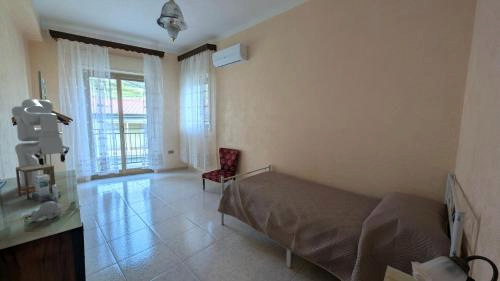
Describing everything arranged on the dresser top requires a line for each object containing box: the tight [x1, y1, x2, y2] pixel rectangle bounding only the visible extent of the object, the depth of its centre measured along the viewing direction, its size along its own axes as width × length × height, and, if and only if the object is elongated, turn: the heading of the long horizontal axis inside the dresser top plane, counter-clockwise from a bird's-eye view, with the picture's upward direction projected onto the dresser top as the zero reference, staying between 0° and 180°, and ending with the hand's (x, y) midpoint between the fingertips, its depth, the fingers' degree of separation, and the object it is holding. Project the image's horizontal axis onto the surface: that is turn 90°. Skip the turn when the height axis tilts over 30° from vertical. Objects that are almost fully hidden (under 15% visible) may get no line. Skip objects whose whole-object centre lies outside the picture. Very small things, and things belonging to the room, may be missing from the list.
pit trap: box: [16, 186, 36, 195], centre depth 147 cm, size 10×10×2 cm
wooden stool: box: [15, 162, 56, 200], centre depth 140 cm, size 14×14×18 cm
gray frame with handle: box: [31, 183, 62, 203], centre depth 133 cm, size 19×10×10 cm, turn 62°
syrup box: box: [34, 174, 51, 196], centre depth 135 cm, size 6×6×14 cm
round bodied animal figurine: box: [27, 200, 62, 223], centre depth 108 cm, size 7×12×8 cm, turn 127°
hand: (52, 163), depth 127 cm, fingers open, 9 cm apart
